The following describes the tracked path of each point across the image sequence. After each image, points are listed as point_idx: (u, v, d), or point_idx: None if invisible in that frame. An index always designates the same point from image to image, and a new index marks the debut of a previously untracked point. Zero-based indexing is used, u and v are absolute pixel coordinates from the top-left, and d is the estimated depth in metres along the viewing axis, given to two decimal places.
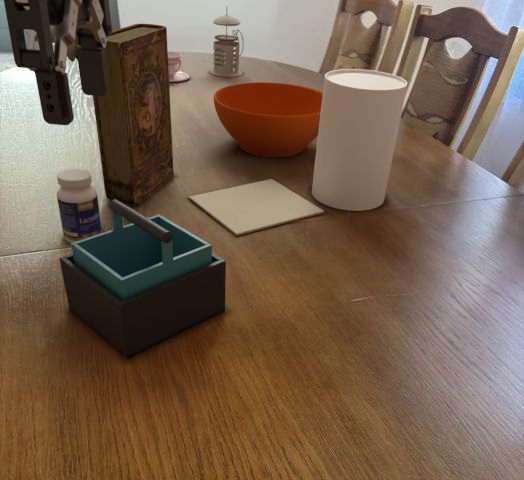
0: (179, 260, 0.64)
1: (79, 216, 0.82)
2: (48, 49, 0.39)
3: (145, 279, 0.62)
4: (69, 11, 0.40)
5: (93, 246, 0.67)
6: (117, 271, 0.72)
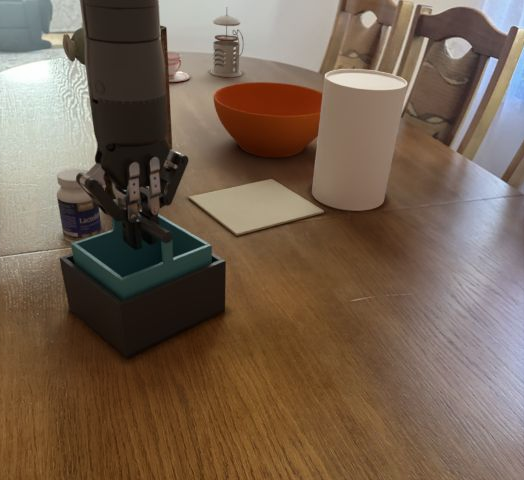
0: (179, 260, 0.64)
1: (79, 216, 0.82)
2: (114, 213, 0.60)
3: (145, 279, 0.62)
4: (129, 188, 0.59)
5: (93, 246, 0.67)
6: (117, 271, 0.72)
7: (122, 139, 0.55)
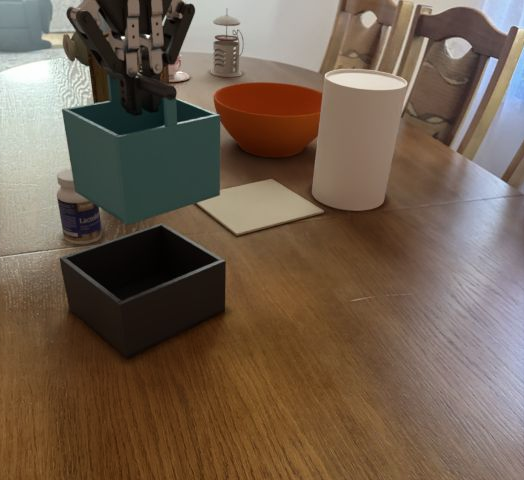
0: (184, 126, 0.57)
1: (79, 216, 0.82)
2: (110, 60, 0.53)
3: (145, 141, 0.55)
4: (127, 30, 0.52)
5: (87, 116, 0.60)
6: None
7: None
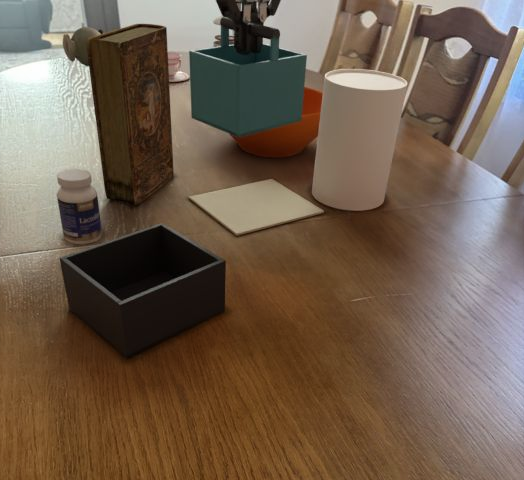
0: (282, 61, 0.76)
1: (79, 216, 0.82)
2: (233, 10, 0.72)
3: (256, 71, 0.74)
4: None
5: None
6: None
7: None
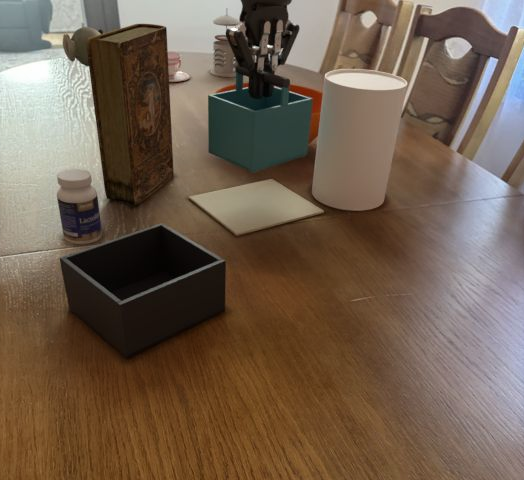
0: (291, 105, 0.85)
1: (79, 216, 0.82)
2: (249, 62, 0.81)
3: (269, 115, 0.83)
4: (261, 42, 0.80)
5: None
6: None
7: None
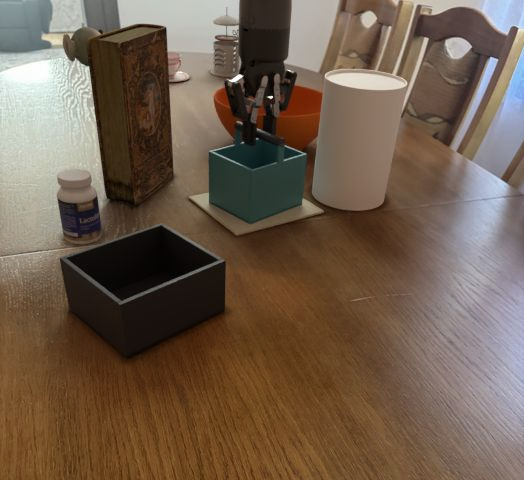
0: (287, 162, 0.91)
1: (79, 216, 0.82)
2: (243, 112, 0.85)
3: (266, 172, 0.89)
4: (257, 94, 0.85)
5: (222, 155, 0.94)
6: None
7: (262, 57, 0.80)
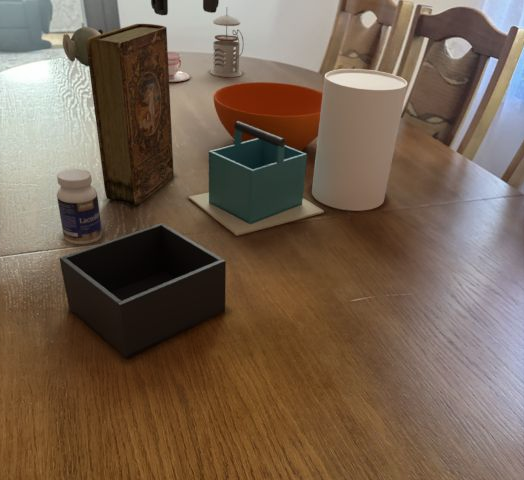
0: (287, 162, 0.91)
1: (79, 216, 0.82)
2: None
3: (266, 172, 0.89)
4: None
5: (222, 155, 0.94)
6: None
7: None
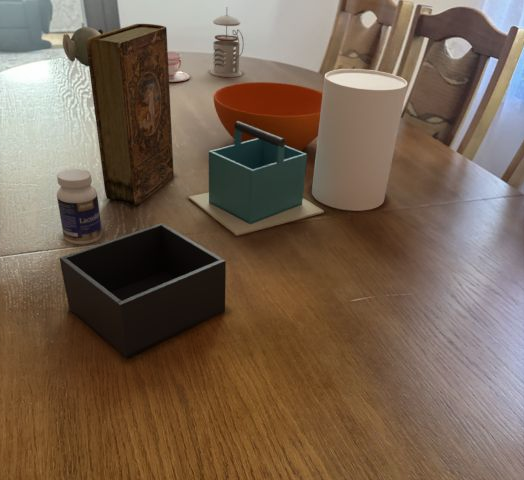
0: (287, 162, 0.91)
1: (79, 216, 0.82)
2: None
3: (266, 172, 0.89)
4: None
5: (222, 155, 0.94)
6: None
7: None
